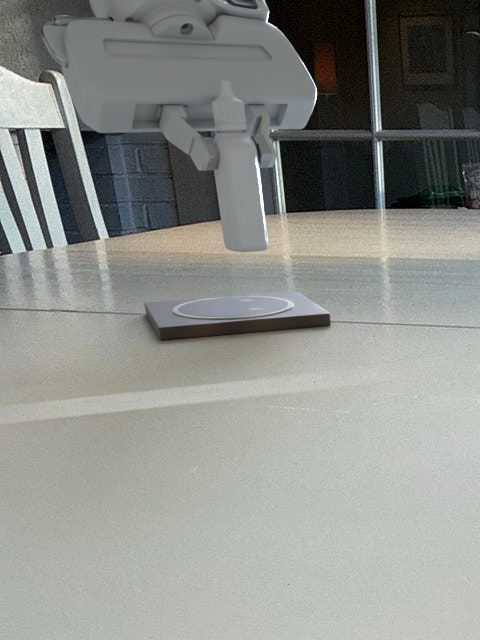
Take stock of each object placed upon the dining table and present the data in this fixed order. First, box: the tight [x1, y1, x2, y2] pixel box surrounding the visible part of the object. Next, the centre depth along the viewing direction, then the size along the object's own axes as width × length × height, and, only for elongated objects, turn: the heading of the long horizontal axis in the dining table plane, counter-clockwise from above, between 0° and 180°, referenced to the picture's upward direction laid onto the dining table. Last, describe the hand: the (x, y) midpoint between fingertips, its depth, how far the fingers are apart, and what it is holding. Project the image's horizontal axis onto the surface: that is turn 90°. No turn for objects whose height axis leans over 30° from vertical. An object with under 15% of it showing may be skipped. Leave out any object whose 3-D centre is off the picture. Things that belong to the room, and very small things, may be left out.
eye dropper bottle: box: [212, 81, 269, 253], centre depth 73 cm, size 4×6×12 cm
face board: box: [143, 290, 332, 341], centre depth 79 cm, size 14×12×1 cm
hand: (240, 163), depth 72 cm, fingers closed on eye dropper bottle, 4 cm apart
